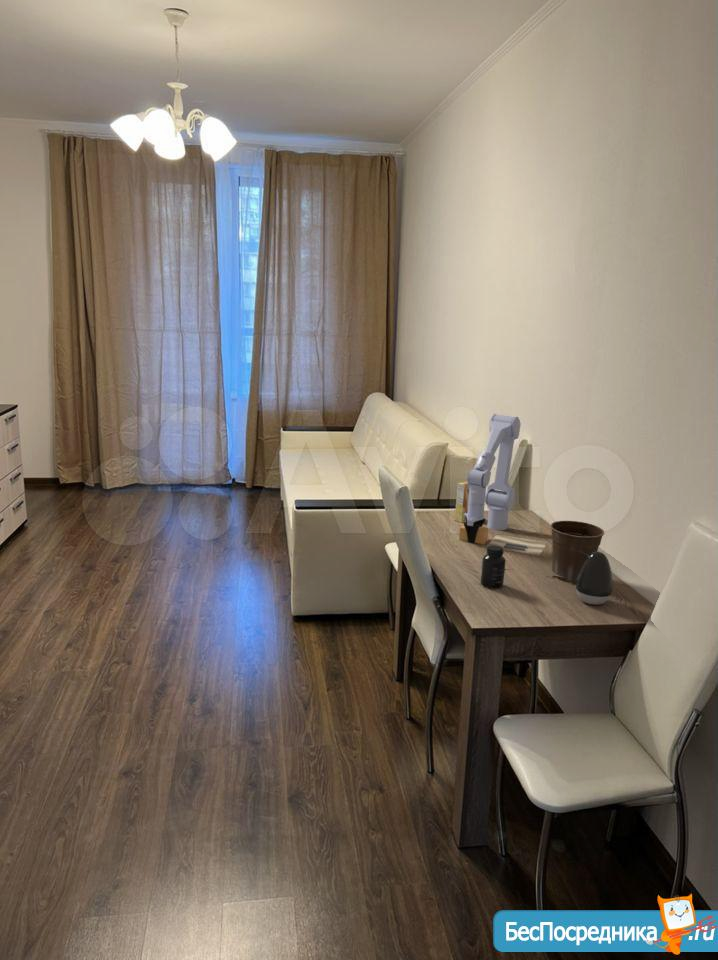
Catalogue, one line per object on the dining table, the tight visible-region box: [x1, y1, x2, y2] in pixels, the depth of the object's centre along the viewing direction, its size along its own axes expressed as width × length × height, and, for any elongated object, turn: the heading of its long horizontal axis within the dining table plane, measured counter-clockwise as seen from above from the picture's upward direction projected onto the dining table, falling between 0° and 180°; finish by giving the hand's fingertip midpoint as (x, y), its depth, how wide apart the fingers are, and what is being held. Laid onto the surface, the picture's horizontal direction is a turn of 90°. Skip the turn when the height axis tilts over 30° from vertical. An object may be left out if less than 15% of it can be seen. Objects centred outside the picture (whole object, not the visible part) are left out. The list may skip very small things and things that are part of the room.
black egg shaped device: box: [575, 551, 614, 606], centre depth 212 cm, size 10×10×15 cm
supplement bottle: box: [480, 545, 506, 589], centre depth 221 cm, size 7×7×12 cm
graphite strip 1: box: [506, 542, 527, 548], centre depth 256 cm, size 2×7×1 cm, turn 67°
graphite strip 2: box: [504, 545, 525, 551], centre depth 253 cm, size 2×7×1 cm, turn 67°
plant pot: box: [550, 520, 605, 584], centre depth 231 cm, size 16×16×16 cm
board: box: [486, 534, 548, 557], centre depth 258 cm, size 16×18×2 cm
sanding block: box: [458, 523, 490, 545], centre depth 260 cm, size 5×9×6 cm, turn 67°
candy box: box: [454, 481, 469, 523], centre depth 288 cm, size 9×4×15 cm, turn 129°
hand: (473, 540), depth 260 cm, fingers closed on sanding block, 5 cm apart
